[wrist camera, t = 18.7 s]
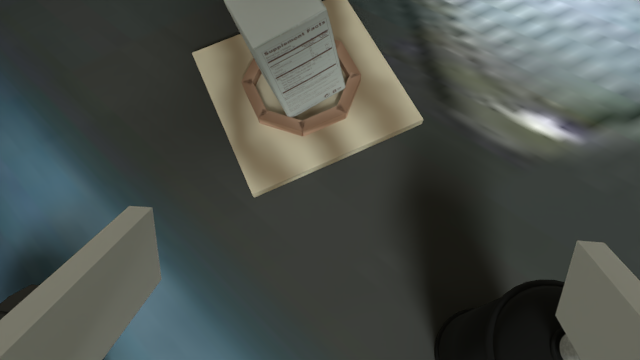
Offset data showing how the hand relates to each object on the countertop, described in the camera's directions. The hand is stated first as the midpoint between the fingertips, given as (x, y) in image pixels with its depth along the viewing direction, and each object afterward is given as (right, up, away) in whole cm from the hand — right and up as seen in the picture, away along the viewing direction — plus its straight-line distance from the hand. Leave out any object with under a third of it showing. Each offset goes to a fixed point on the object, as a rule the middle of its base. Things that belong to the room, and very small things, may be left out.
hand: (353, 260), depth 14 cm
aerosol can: (+13, -13, +26) cm, 32 cm away
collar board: (-3, +13, +38) cm, 40 cm away
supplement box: (-3, +13, +36) cm, 39 cm away
